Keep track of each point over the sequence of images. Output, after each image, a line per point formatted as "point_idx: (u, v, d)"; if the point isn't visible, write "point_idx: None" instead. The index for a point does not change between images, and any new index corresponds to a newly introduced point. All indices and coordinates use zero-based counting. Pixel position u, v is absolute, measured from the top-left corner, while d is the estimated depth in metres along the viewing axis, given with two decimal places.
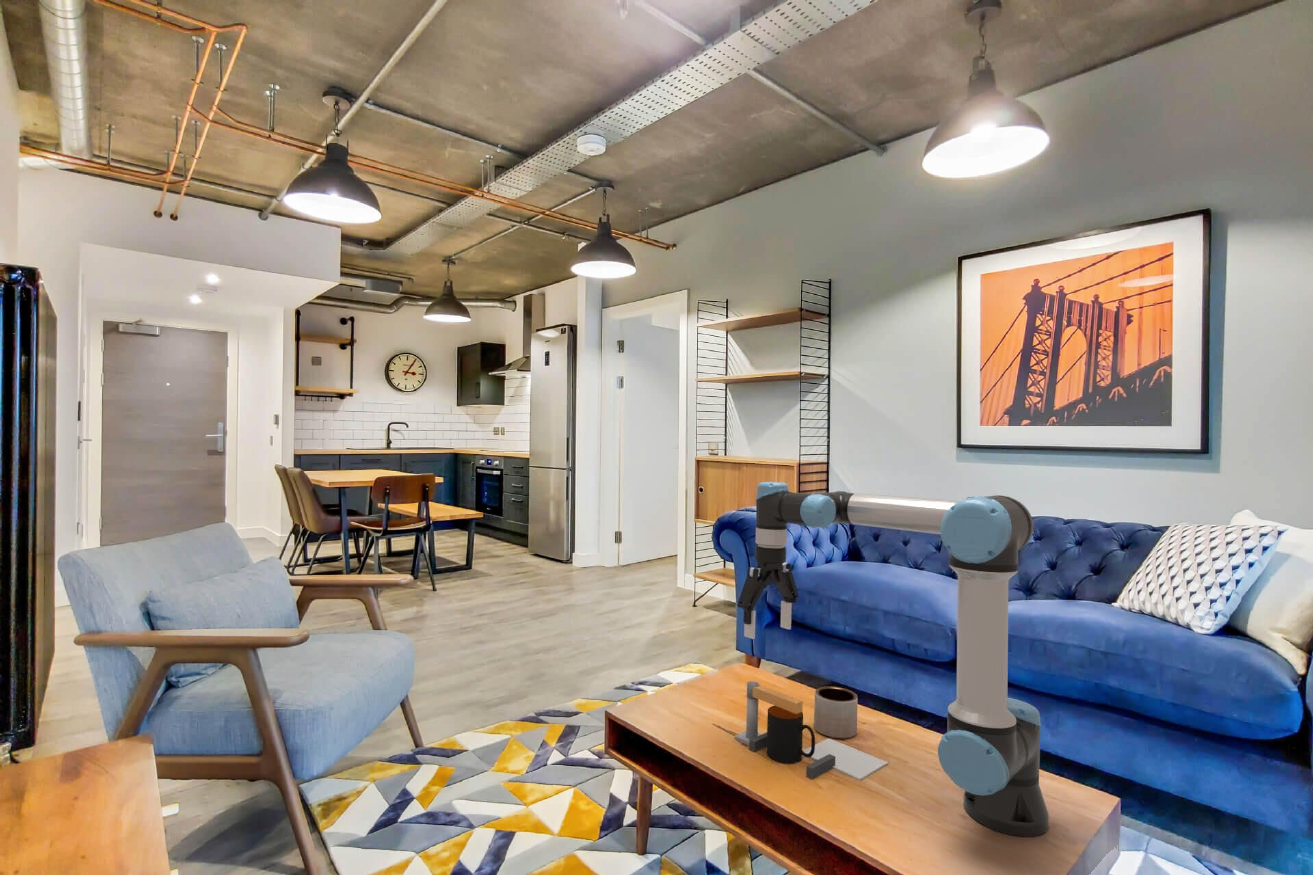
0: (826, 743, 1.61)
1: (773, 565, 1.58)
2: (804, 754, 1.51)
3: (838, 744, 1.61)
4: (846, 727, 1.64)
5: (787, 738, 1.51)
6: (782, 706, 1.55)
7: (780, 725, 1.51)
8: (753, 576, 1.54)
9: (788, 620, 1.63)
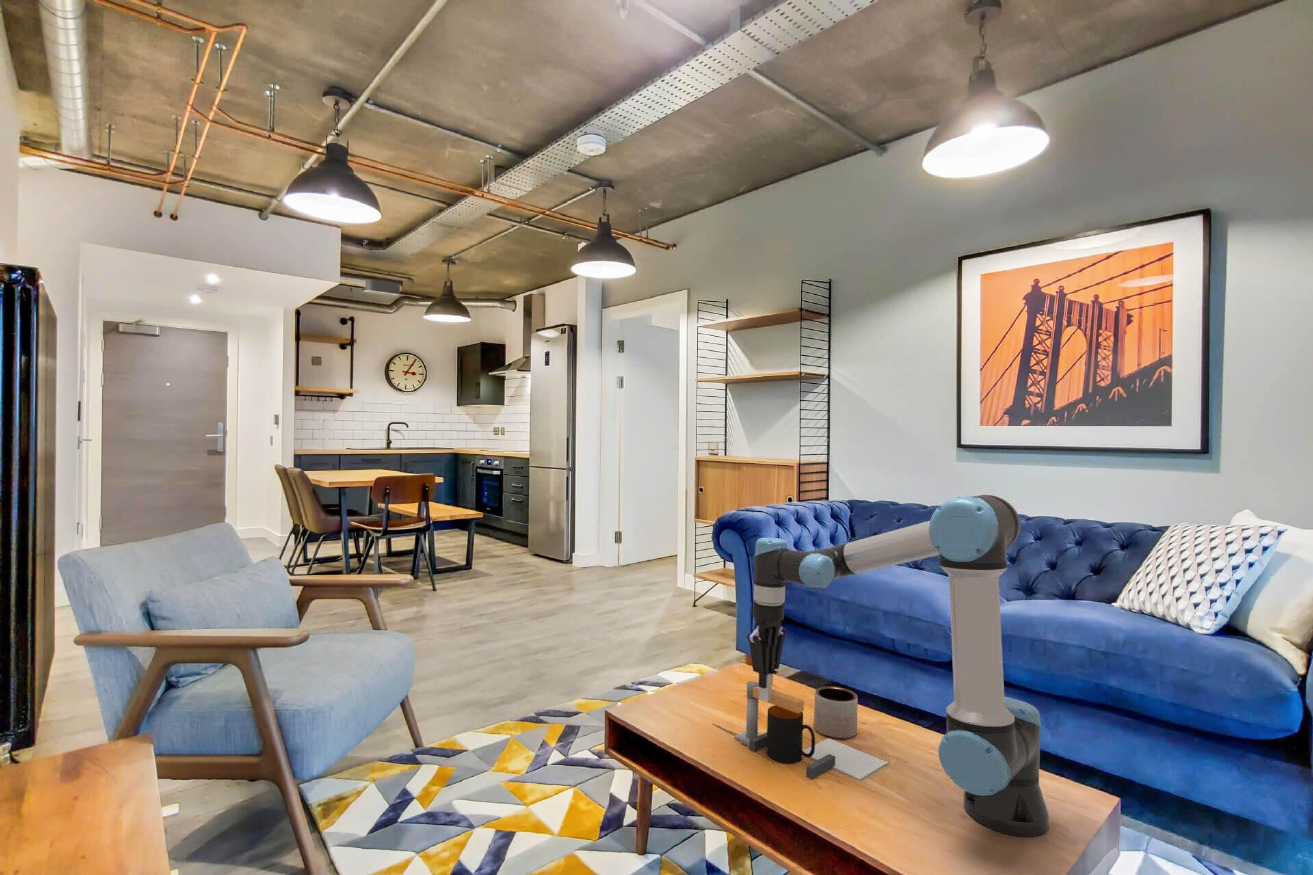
0: (826, 743, 1.61)
1: (771, 622, 1.58)
2: (804, 754, 1.51)
3: (838, 744, 1.61)
4: (846, 727, 1.64)
5: (787, 738, 1.51)
6: (783, 706, 1.55)
7: (780, 725, 1.51)
8: (755, 644, 1.54)
9: None
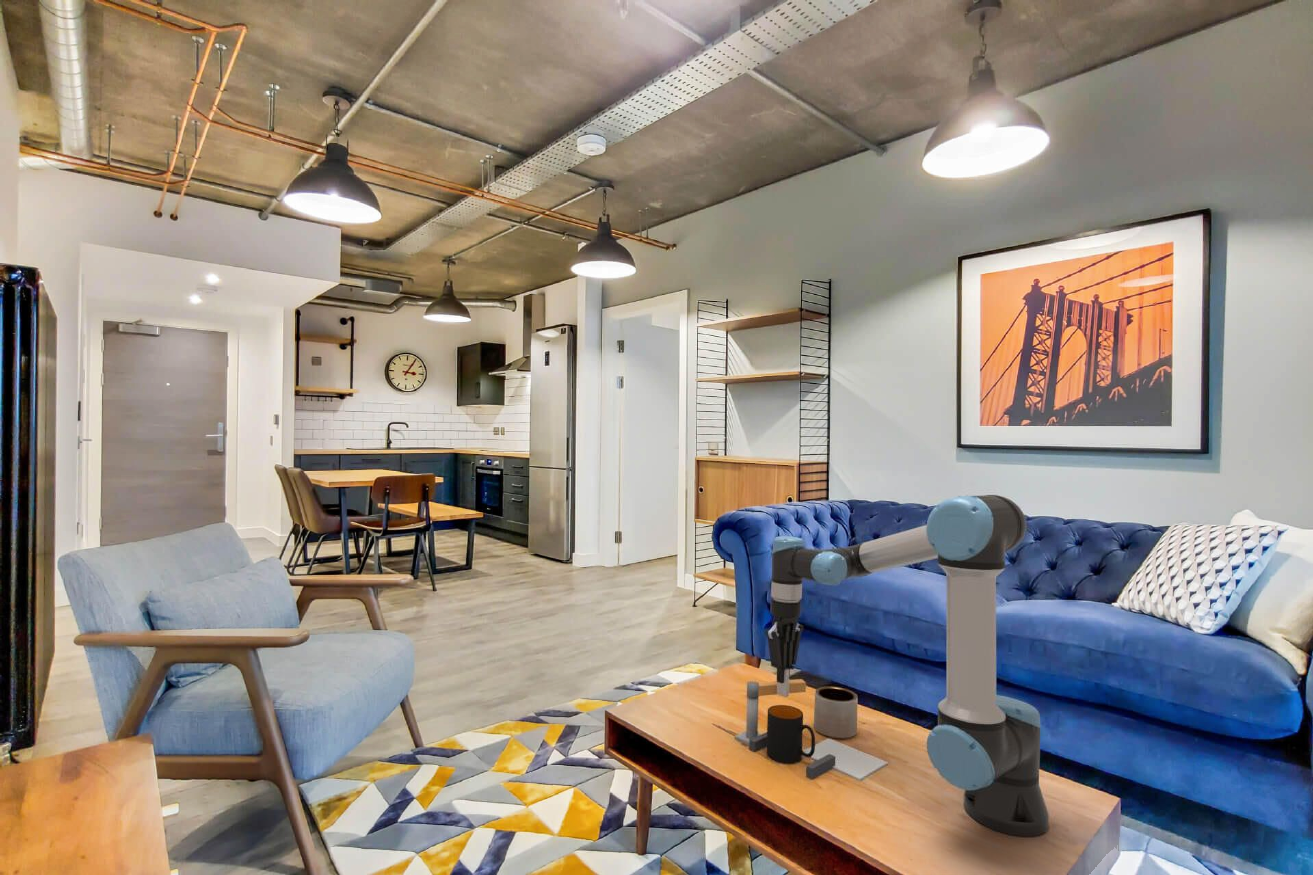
0: (826, 743, 1.61)
1: (788, 619, 1.62)
2: (804, 754, 1.51)
3: (838, 744, 1.61)
4: (846, 727, 1.64)
5: (787, 738, 1.51)
6: (791, 691, 1.65)
7: (780, 725, 1.51)
8: (774, 639, 1.58)
9: None
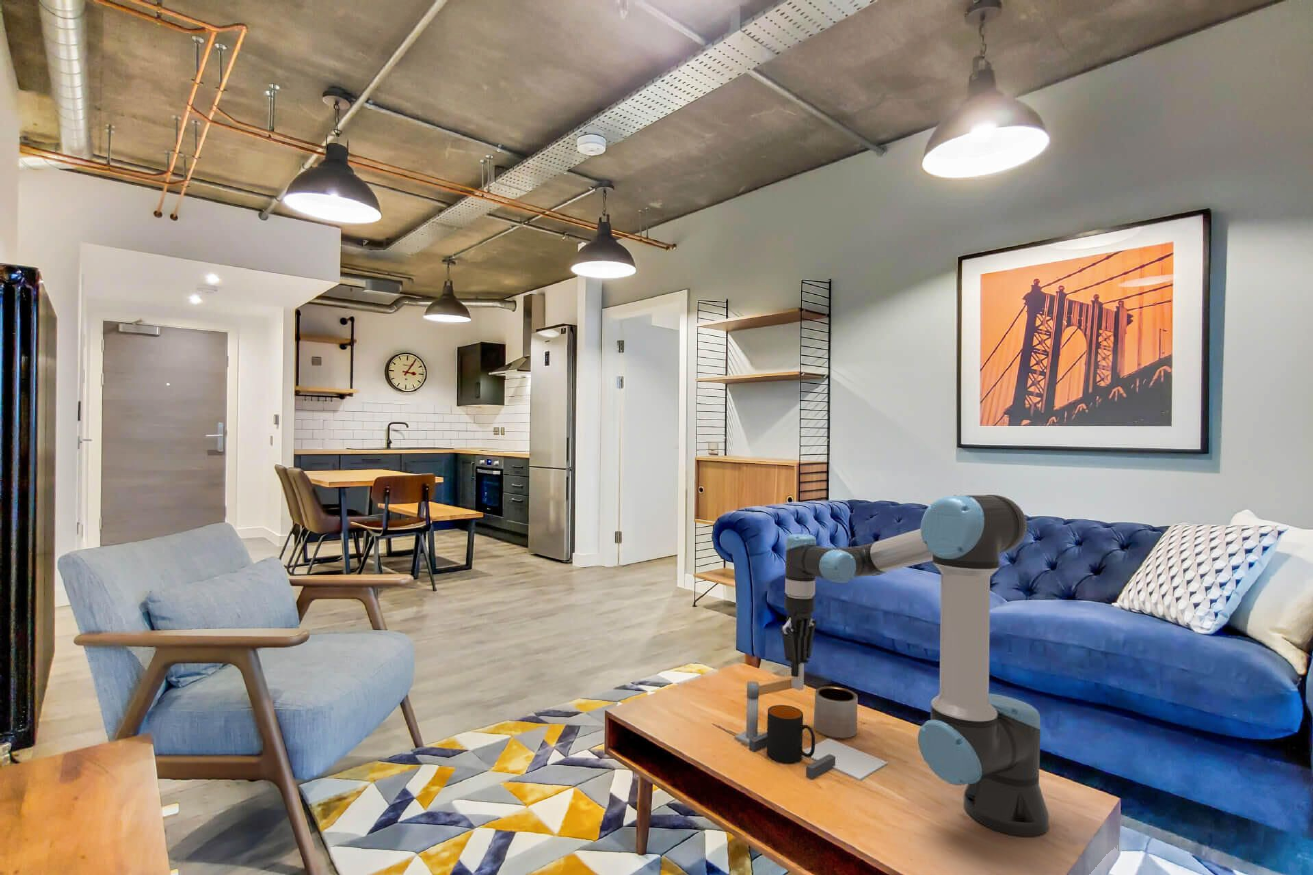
0: (826, 743, 1.61)
1: (802, 614, 1.66)
2: (804, 754, 1.51)
3: (838, 744, 1.61)
4: (846, 727, 1.64)
5: (787, 738, 1.51)
6: (786, 687, 1.67)
7: (780, 725, 1.51)
8: (788, 635, 1.63)
9: None
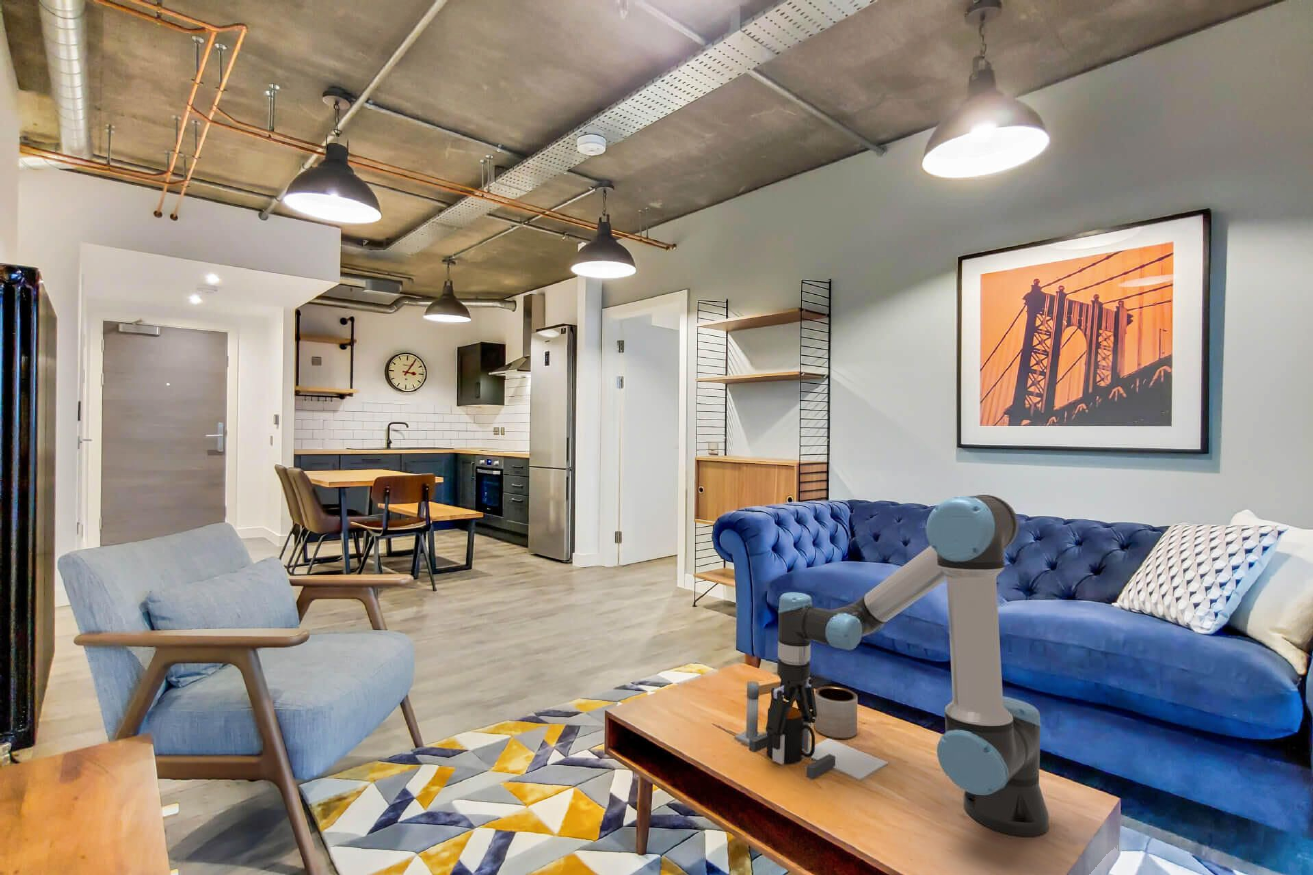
0: (826, 743, 1.61)
1: None
2: (804, 754, 1.51)
3: (838, 744, 1.61)
4: (846, 727, 1.64)
5: (787, 738, 1.51)
6: None
7: None
8: (778, 699, 1.49)
9: (807, 741, 1.56)
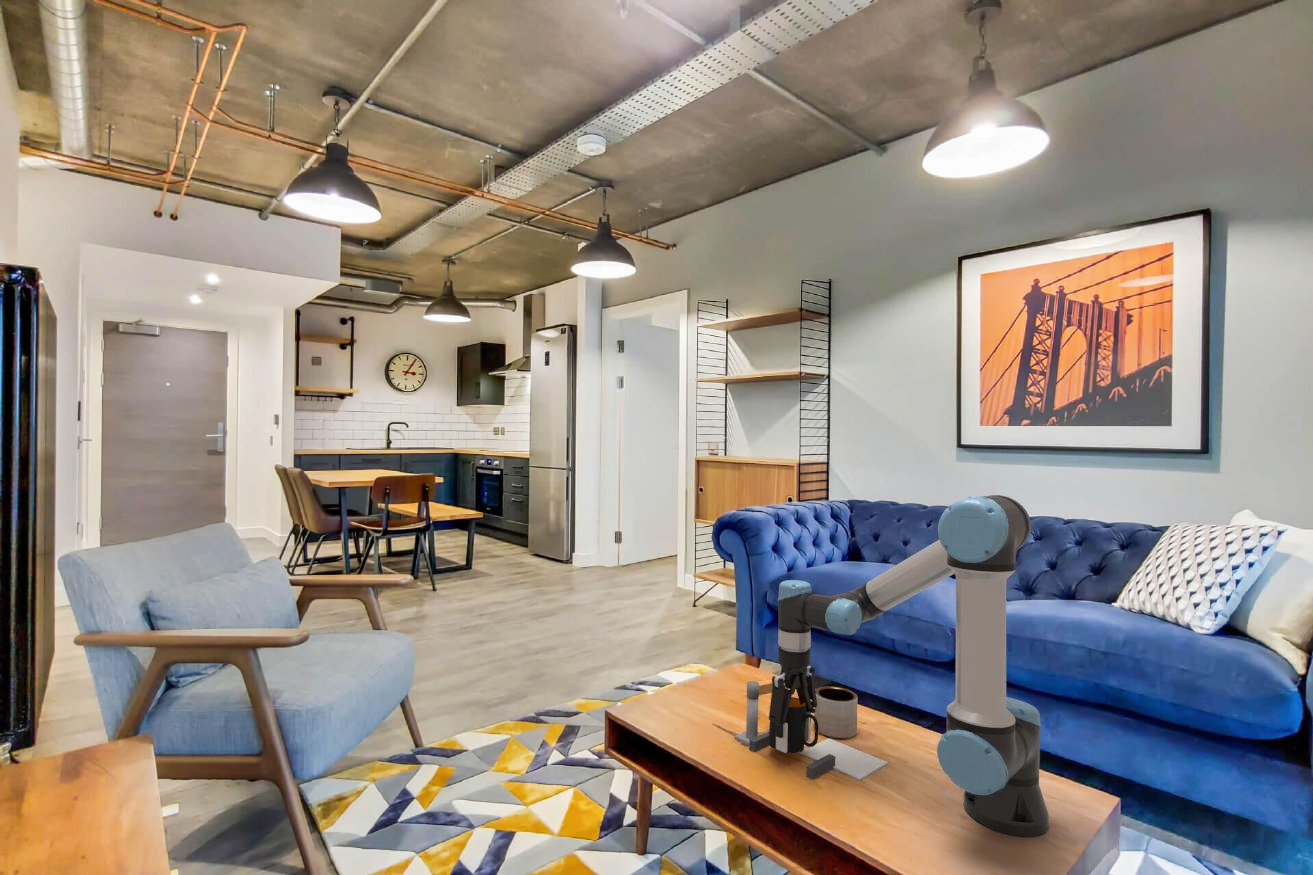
0: (826, 743, 1.61)
1: (797, 668, 1.53)
2: (807, 744, 1.51)
3: (838, 744, 1.61)
4: (846, 727, 1.64)
5: (790, 727, 1.51)
6: None
7: None
8: (779, 687, 1.49)
9: (807, 732, 1.55)
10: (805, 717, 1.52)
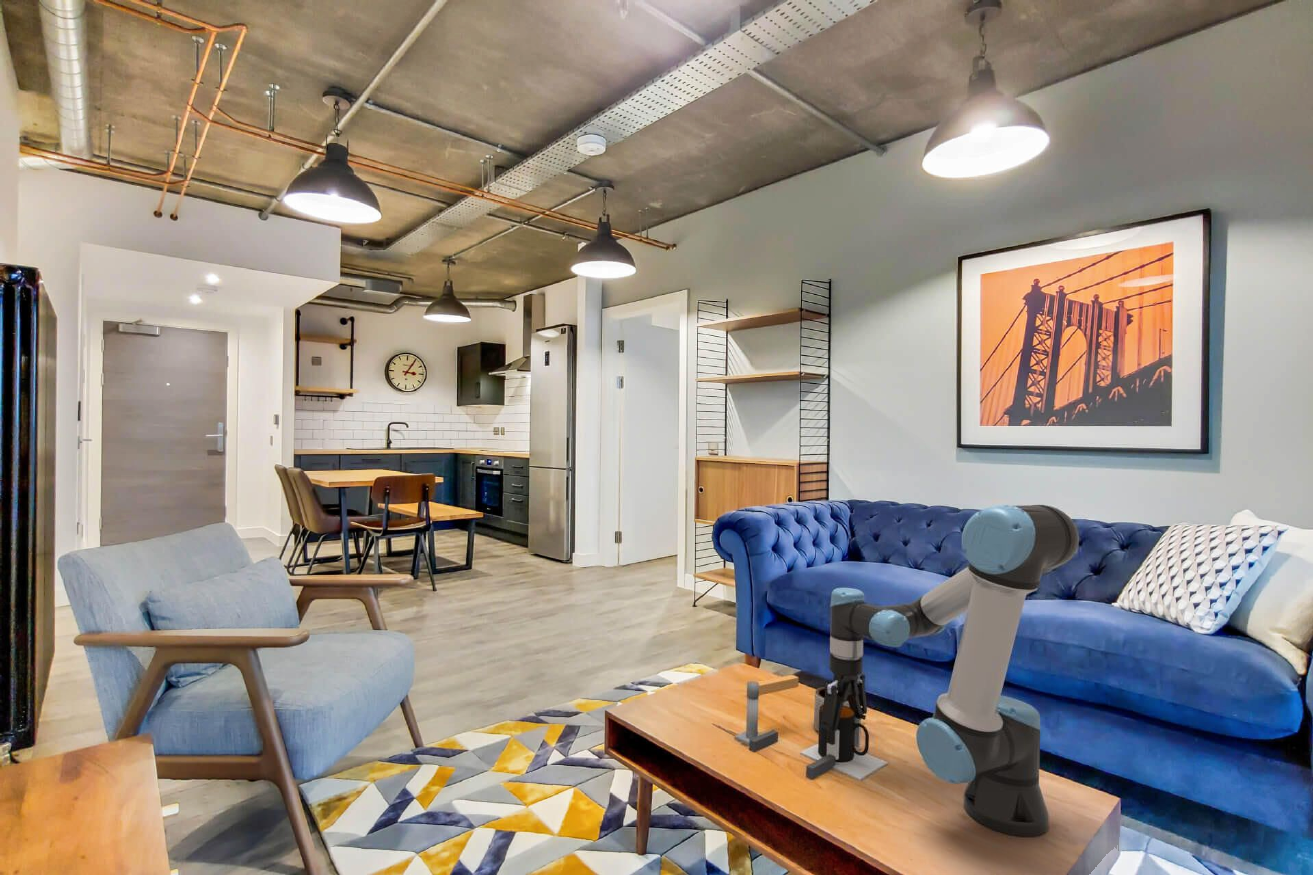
0: None
1: (849, 676, 1.54)
2: (857, 752, 1.52)
3: None
4: None
5: (840, 737, 1.51)
6: (786, 687, 1.67)
7: None
8: (832, 694, 1.49)
9: (858, 738, 1.56)
10: (855, 726, 1.52)
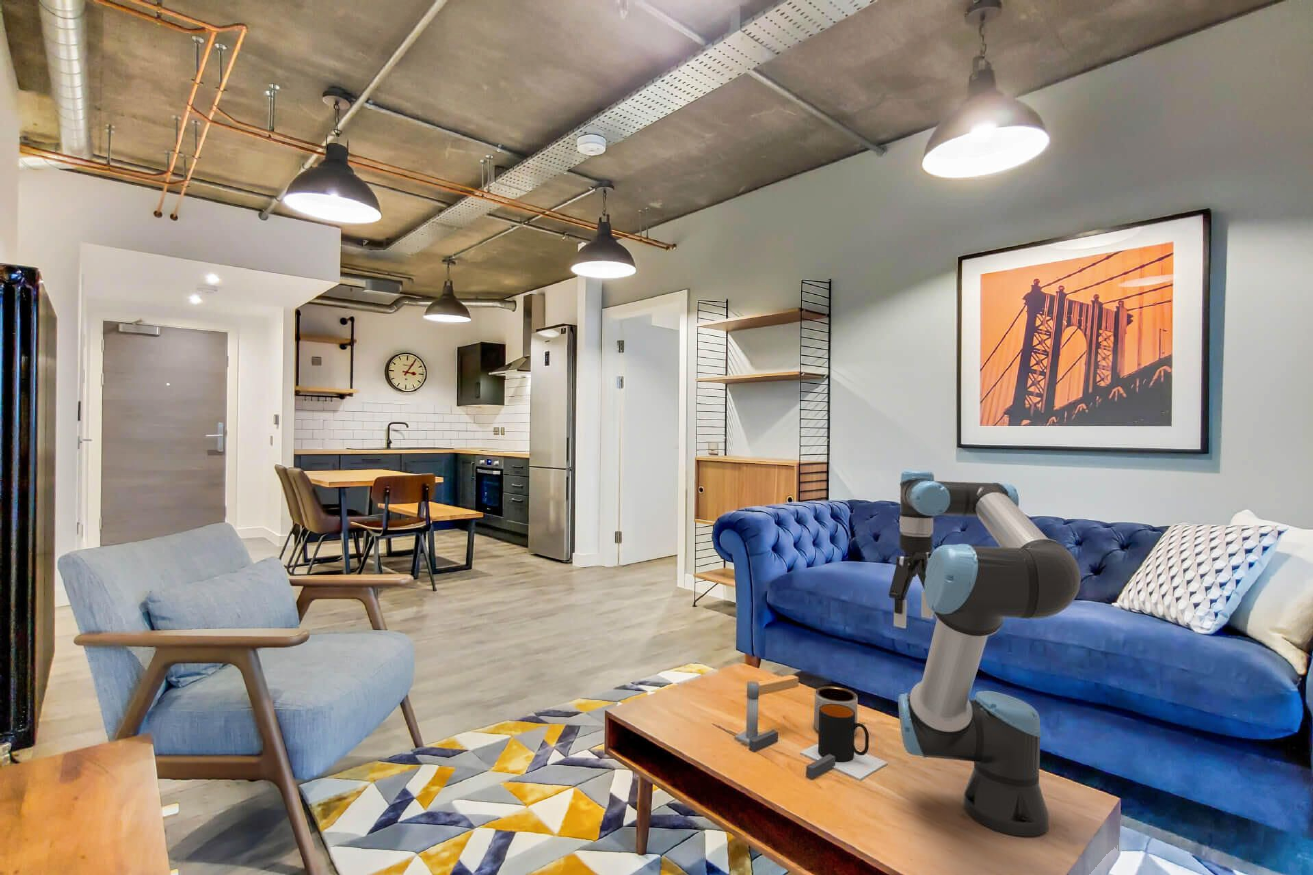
0: None
1: (919, 554, 1.57)
2: (857, 752, 1.52)
3: None
4: None
5: (841, 737, 1.52)
6: (786, 687, 1.67)
7: (834, 724, 1.52)
8: (904, 565, 1.53)
9: (930, 610, 1.61)
10: (855, 726, 1.52)
